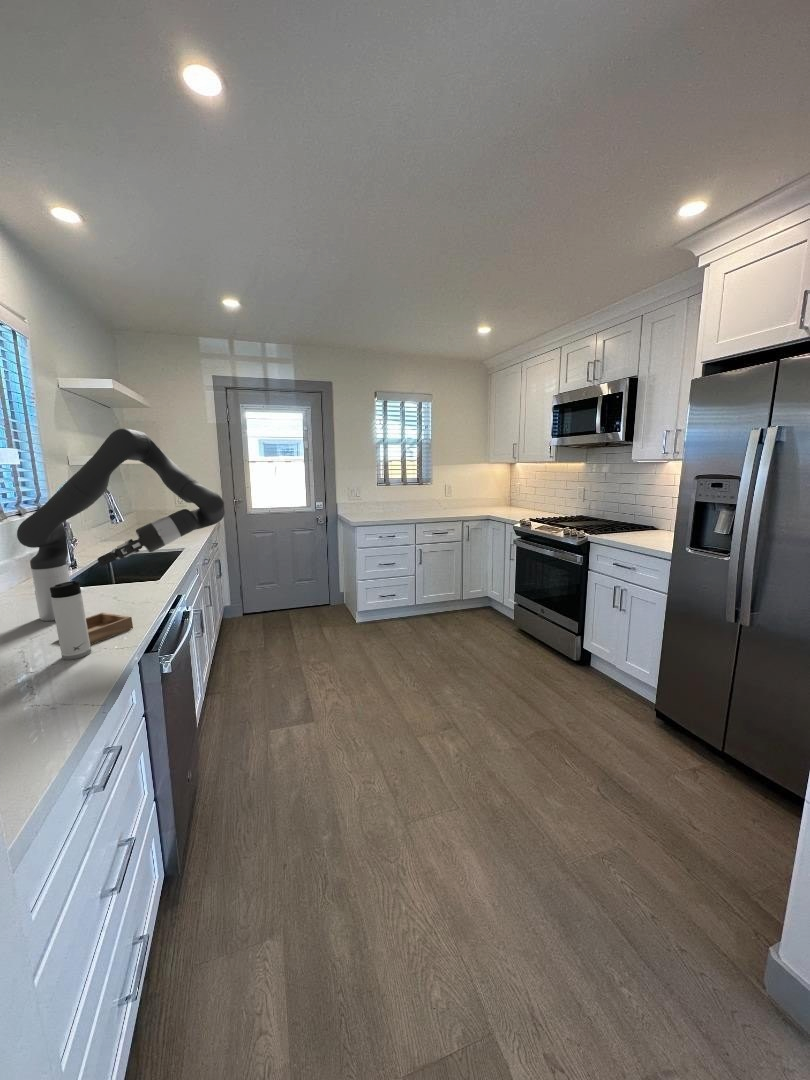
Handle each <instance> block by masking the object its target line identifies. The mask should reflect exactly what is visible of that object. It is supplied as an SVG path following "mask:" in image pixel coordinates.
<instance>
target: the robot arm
mask: <svg viewBox="0 0 810 1080" xmlns="http://www.w3.org/2000/svg"><path fill="white" fill-rule="evenodd" d="M126 461H134V462H135V461H139V462H141V463H143V464H144V465H146V466H147V467H149V468H151V469H152V470H153V471H154V472H155V473H156V474H157V475H158V476H159V478H160V480H161V481H162V483H163V484H164V485H165V486H166V488H168V489H169V490H170V491H171V492H172V493H174V494H175V495H176V496H177V497H179V498H180V499H181V500H182V501H184V502H185V503H189V504H191V503H192V504H194V505H195V506H197V507H198V508H197V509H193V510H189V509H187V508H183V509H181V510H178V511H175V512H173V513H171V514H169V515H166V516H164V517H160V518H158V519H156V520H154V521H152V522H151V521H150V523H148V524H145V525H143V526H141V527H139V528H136V529H135V533H136V535H137V537H138V538H136V539H135V540H133V539H132V538H130V539H128V540H126V541H125V542H124V543H122V544H119V545H117V546H116V547H115V548H114V549H112V550H111V551H110V552H108V553H105V554H103V555H101V556H99V557H98V558H97V562H98V563H99V565H100V566H101V567H102V566H104V567H105V565H108V564H110V563H112V562H114V561H116V560H121V559H123V558H127V557H130V556H131V555H134V554H137V553H139V552H140V550H142V549H143V547H144V548H145V550H146V551H148V552H149V553H153V552H155V551H158V550H159V549H161V548H163V547H165V546H167V545H169V544H172V543H173V542H175V541H177V540H178V539H180V538H181V537H183V536H185V535H187V534H190V533H191V532H193V531H196V530H200V529H205V528H207V527H212V526H213V525H215V524H218V523H219V522H220V521H222V520H223V519H224V516H225V510H226V509H225V502H224V499H223V498H222V497H221V495H220V494H218V493H217V492H216V491H214V490H212V489H211V488H209V487H207V486H205V485H202V484H201V483H199V482H198V481H197V480H196V479H194V478H193V477H192V476H191V475H190V474H188V473H187V472H185V471H184V470H183V469H182V468H181V467H179V466H178V465H177V464H176V462H173V460H171V458H170V457H168V455H167V454H165V452H164V451H163V450H162V449H161V448H160V447H159V446H158V445H157V444H156V442H155V441H154V440H153V439H152V438H151V437H150V436H149V435H148V434H146V432H143V431H140V430H135V429H131V428H126V427H125V428H124V427H123V428H118V429H116V430H114V431H113V432H112V433H110V434H109V436H108V437H107V438H106V439H105V440H104V441H103V443H102V444H101V445H100V446H99V448H98V449H97V451H96V452H95V453H94V454H93V456H91V457H90V458H89V459H88V461H86V462H85V463H84V465H83V466H82V467H81V468H80V469H79V470H77V472H76V473H74V474H73V475H71V477H70V478H69V479H68V480H67V481H66V482H65V483H64V484H63V485H62V486H61V487H60V488H59V489H58V490H57V491H56V493H55V494H53V495H52V496H51V498H49V499H48V500H47V502H45V503H44V504H43V505H42V506H41V507H40V508H39V509H37V510H36V511H34V513H32V514H31V515H29V516H28V517H27V518H26V519H24V520H23V521H22V522H21V523H20V524H19V526H18V528H17V530H16V537H17V540H18V542H19V543H20V544H21V545H23V546H24V547H27V548H32V549H33V548H38V551H37V553H36V554H35V555H34V556H33V557H32V558H31V559H30V561H29V564H30V569H31V576H32V579H33V587H34V595H35V600H36V607H37V611H38V617H39V618H40V621H42V622H43V621H45V622H49V621H55V616H54V610H53V605H52V599H51V592H50V587H54V586H55V585H58V584H61V583H65V582H70V581H71V580H70V573H69V568H68V563H67V561H68V560H67V558H68V555H69V549H68V548H69V547H68V539H67V531H66V528H65V525H64V523H65V522H66V521H67V520H69V519H71V518H73V517H74V516H77V515H78V514H80V513H82V512H84V511H85V510H86V509H88V508H90V507H91V506H93V504H95V503H96V502H97V501H98V500H99V499H100V498H101V497H102V496H103V495H104V493H106V491H107V489H108V486H109V484H110V483H109V482H110V479H111V478H110V477H111V475H112V473H114V471H115V470H116V469H118V467H119V466H120V465H122V464H123V463H125V462H126Z"/></svg>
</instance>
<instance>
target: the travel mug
mask: <svg viewBox="0 0 810 1080" xmlns="http://www.w3.org/2000/svg"><path fill="white" fill-rule="evenodd" d="M81 583H82V582H81V580H77V579H76V580H70V582H65V583H61V584H58V585H55V586H54V587H50V592H51V599H52V605H53V610H54V616H55V620H54V621H55V626H56V631H57V638H58V643H59V647H60V649H59V650H60V654H61V658H62V659H63V660H67V661H71V660H76V659H80V658H83V657H86V656H88V655H90V654H91V652H92V648H91V645H90V641H89V635H88V629H87V623H86V618H87V617H86V612H85V605H84V600H83V594H82V590H81Z"/></svg>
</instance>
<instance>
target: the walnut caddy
mask: <svg viewBox="0 0 810 1080" xmlns="http://www.w3.org/2000/svg"><path fill="white" fill-rule="evenodd" d="M86 623H87V629H88V635H89V641H90V644H91V645H93V644H95V642H96V643H98V642H101V641H103V639H104V640H106V639H109V638H111V637H114V636H116V635H119V634H122V633H124V632H126V631H129V630H132V629H133V628H134V625H133V618H132V616H126V615H121V614H120V615H119V614H115V613H107V612H100V613H97V614H94V615H91V616H88V617H86ZM131 628H132V629H131ZM118 633H119V634H118ZM113 635H114V636H113ZM108 637H109V638H108ZM100 640H101V641H100ZM97 641H98V642H97ZM92 643H93V644H92Z"/></svg>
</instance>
